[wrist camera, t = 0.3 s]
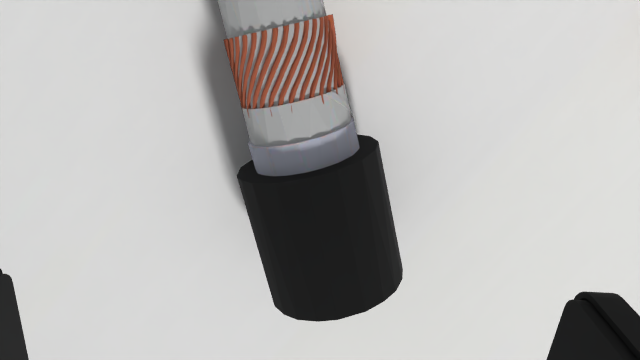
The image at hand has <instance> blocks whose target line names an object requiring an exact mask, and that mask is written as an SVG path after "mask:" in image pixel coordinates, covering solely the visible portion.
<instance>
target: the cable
mask: <svg viewBox="0 0 640 360" xmlns="http://www.w3.org/2000/svg"><path fill="white" fill-rule="evenodd" d="M218 4H219V8H220V12H221V16H222V20H223V24H224V28H225V32H226V36H227V39H225V40H224V43H225V47H226V51H227V55H228V58H229V61H230V66H231V69H232V72H233V76H234V80H235V83H236V87H237V91H238V95H239V98H240V102H241V107H242V111H243V114H244V118H245V122H246V126H247V130H248V134H249V138H250V141H249V142H248V145H249V149H250V152H251V155H252V159H253V160H251V161H250V162H248V163H247V164H245V165H244V166H242V167H241V168H240V170H239V172H238V174H237V178H238V181H239V185H240V188H241V192H242V195H243V199H244V202H245V205H246V209H247V212H248V216H249V219H250V223H251V226H252V230H253V233H254V236H255V240H256V243H257V247H258V250H259V254H260V257H261V261H262V264H263V267H264V271H265V274H266V278H267V281H268V285H269V288H270V292H271V295H272V298H273V302H274V305H275V307H276V308H277V309H279V310H280V311H281V312H282V313H283V314H284V315H287V316H289V317H292V318H295V319H297V320H307V321H329V320H338V319H342V318H345V317H349V316H352V315H355V314H359V313H362V312H366V311H367V310H369V309H371V308H373V307H375V306H376V305H378V304H380V303H382V302H383V301H385V300H386V299H387V298H388V297H389V296H391V295H392V294H393V293H394V292H395V291H396V290H397V288H398V286H399V284H400V282H401V280H402V272H403V269H402V263H401V258H400V253H399V248H398V242H397V237H396V232H395V227H394V221H393V216H392V211H391V206H390V200H389V195H388V190H387V185H386V179H385V174H384V169H383V164H382V158H381V153H380V148H379V143H378V141H377V140H375V139H373V138H372V137H370V136H364V135H357V133H356V128H355V124H354V119H353V116H352V115H351V111H350V107H349V104H348V99H347V94H346V89H345V83H344V82H343V78H342V73H341V68H340V63H339V59H338V54H337V47H336V34H335V27H334V20H333V14H332V15H328V16H326V12H325V8H324V2H323V0H218Z"/></svg>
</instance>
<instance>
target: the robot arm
mask: <svg viewBox="0 0 640 360" xmlns="http://www.w3.org/2000/svg"><path fill="white" fill-rule="evenodd" d="M0 360H29V359H28V354H27V350H26V345H25V340H24V335H23V330H22V325H21V320H20V315H19V311H18V306H17V301H16V296H15V291H14V286H13V282H12V279H11V277H10V276H9V275H7V274H3V273H2V270H1V269H0ZM547 360H640V316H639V315H638V314H637V313H636V312H635V311H634V310H633V309H632V308H631V307H630V305H629V304H628V303H627V302H626V301H625V300H624V299H623V298H622V297H621V296H619V295H618V294H614V293H600V292H581V293H579V294H577V295H576V296H575V298H574V300H569V301H568V302H567V303H566V305H565V307H564V310H563V313H562V316H561V319H560V322H559V325H558V328H557V331H556V334H555V337H554V339H553V342H552V345H551V348H550V351H549V354H548V357H547Z"/></svg>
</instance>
